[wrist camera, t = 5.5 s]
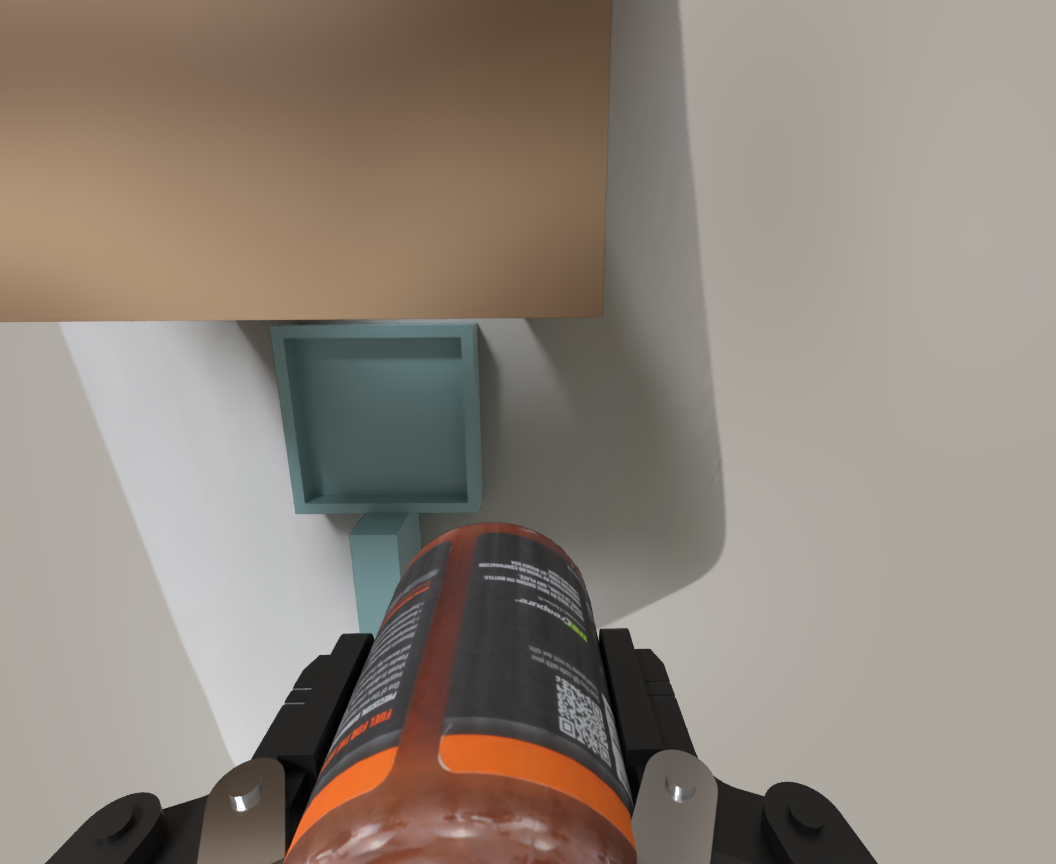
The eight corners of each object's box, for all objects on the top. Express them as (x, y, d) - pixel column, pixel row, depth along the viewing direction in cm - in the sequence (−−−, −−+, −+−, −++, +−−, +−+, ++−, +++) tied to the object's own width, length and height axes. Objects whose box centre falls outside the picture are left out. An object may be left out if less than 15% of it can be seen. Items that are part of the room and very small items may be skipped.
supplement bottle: (387, 659, 16) (102, 1419, 5) (415, 495, 15) (81, 1117, 4) (564, 691, 17) (635, 1463, 6) (611, 535, 15) (836, 1205, 4)
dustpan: (291, 324, 27) (239, 329, 22) (477, 322, 27) (465, 327, 22) (330, 626, 32) (295, 684, 27) (487, 625, 32) (479, 683, 27)
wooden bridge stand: (167, 74, 24) (-621, -413, 8) (559, 70, 24) (625, -434, 7) (208, 308, 27) (-300, 323, 10) (557, 305, 27) (602, 317, 10)
